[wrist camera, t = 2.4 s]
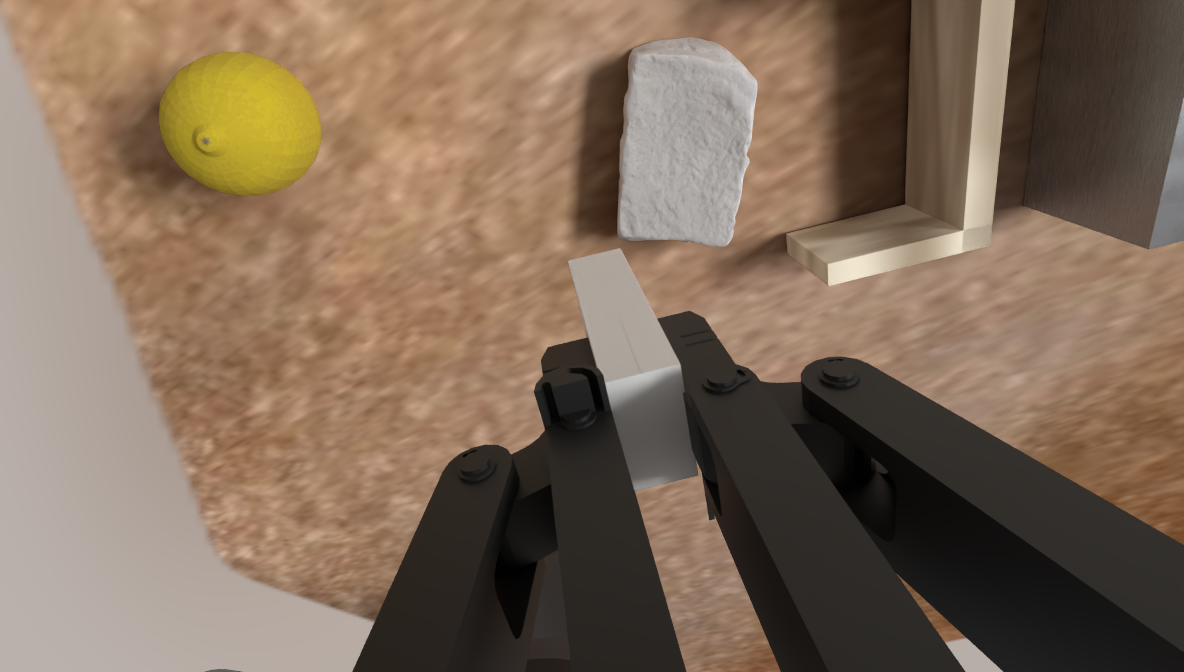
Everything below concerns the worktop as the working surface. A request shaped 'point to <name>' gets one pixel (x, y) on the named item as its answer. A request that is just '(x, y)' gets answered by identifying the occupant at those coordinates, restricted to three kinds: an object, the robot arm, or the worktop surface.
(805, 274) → the worktop surface
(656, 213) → the grey stone block
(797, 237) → the cradle
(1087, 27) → the wall
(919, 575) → the robot arm
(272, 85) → the lemon
